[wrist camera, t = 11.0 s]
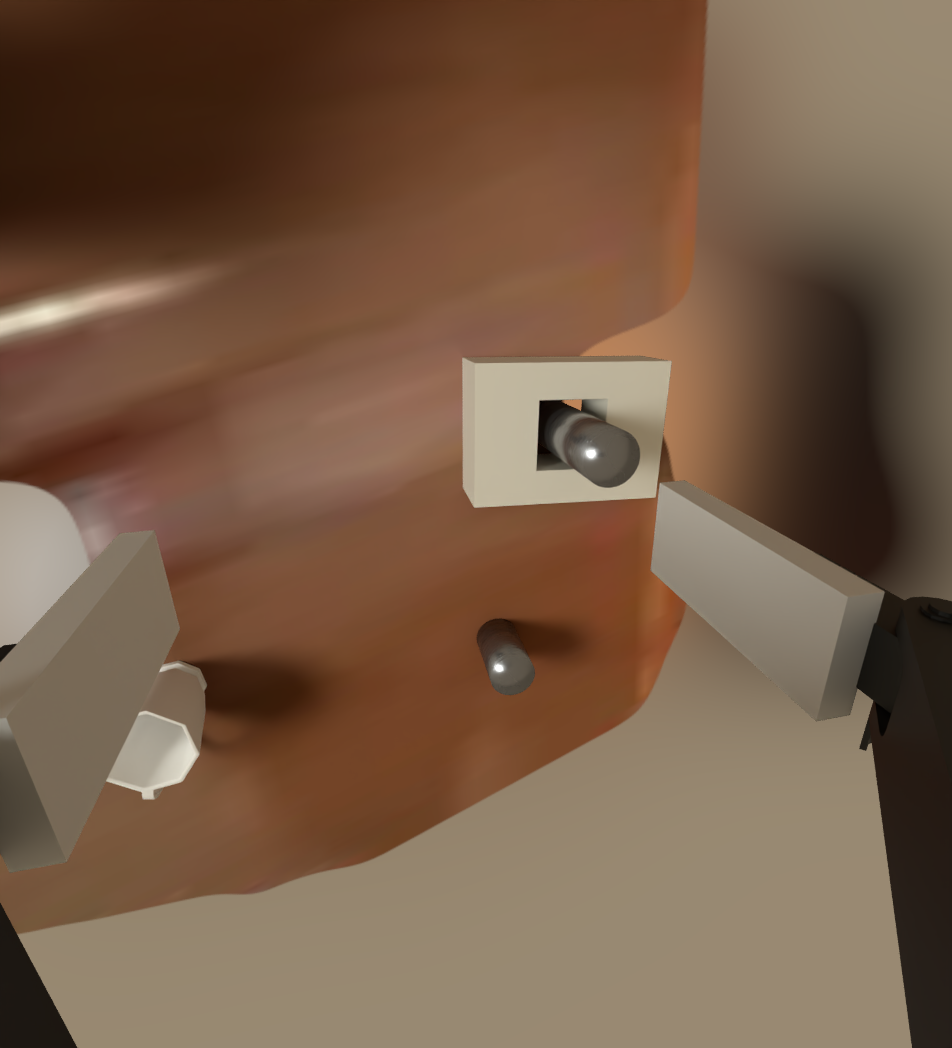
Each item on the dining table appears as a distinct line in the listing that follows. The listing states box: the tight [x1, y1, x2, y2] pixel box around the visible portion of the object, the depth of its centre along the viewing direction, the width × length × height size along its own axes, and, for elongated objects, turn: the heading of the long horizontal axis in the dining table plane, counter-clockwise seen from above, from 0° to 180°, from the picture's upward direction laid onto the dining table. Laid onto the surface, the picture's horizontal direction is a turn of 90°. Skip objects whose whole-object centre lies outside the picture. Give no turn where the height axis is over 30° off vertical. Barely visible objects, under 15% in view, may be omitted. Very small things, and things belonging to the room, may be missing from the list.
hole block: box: [463, 356, 672, 508], centre depth 43 cm, size 10×14×5 cm
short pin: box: [477, 619, 535, 695], centre depth 48 cm, size 4×4×6 cm
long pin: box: [538, 400, 640, 488], centre depth 40 cm, size 4×4×12 cm
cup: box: [106, 661, 207, 799], centre depth 44 cm, size 7×10×8 cm
